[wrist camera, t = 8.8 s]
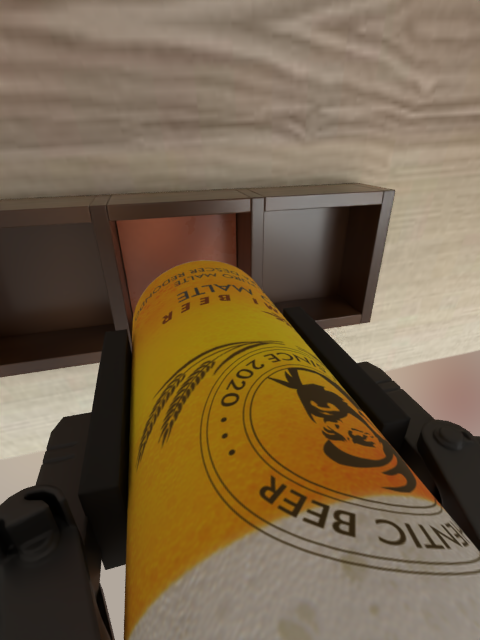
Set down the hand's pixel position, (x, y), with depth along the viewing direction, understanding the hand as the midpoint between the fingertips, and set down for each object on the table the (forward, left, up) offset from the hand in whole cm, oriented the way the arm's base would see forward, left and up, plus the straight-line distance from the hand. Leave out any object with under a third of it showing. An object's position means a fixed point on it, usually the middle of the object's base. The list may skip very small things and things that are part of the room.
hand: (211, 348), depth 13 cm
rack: (0, 0, -11) cm, 11 cm away
